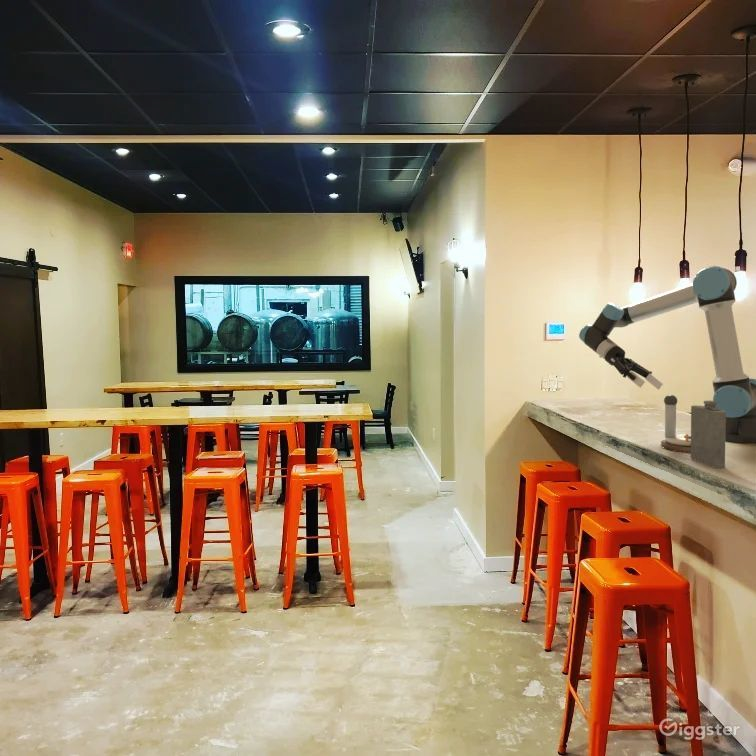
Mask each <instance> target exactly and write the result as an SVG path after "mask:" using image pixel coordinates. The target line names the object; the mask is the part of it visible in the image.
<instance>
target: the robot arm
mask: <svg viewBox="0 0 756 756" xmlns="http://www.w3.org/2000/svg"><path fill="white" fill-rule="evenodd" d="M736 288H737V277H736V275H735V274H734V273H733V271H731V270H730V269H729V268H728V269H727V268H723V267H720V266H716V265H713V266H709V267H705V268H703V269H701V270H699V271H698V272H697V273H696V275H695V276H694V278H693V280H692V283H690V284H687V285H683V286H682V287H678V288H675V289H673V290H670V291H666V292H664V293H661V294H658V295H655V296H652V297H650V298H647V299H643V300H641V301H637V302H635V303H632V304H629V305H625V306H623V307H621V306H619V305H617V304H615V303H613V302H608V303H607V304H606V305H605V306H604V307H603V308H602V311H601V312H600V313H599V315H598V316H597V318H596V319H595V321H594V323H593V324H587V325H585V326H583V328H581V329H580V331H579V333H578V338H579V339H580V340H581V342H582V343H584V344H585V346H587V347H588V348H590V349H591V350H592V351H593V352H595V354H597V355H598V357H599V358H601V359H603V360H604V361H605V362H607V364H608V365H610V366H613V367H614V368H615V369H616V370H617V371H618V373H619V374H620V375H622V377H623V378H628V379H629V380H630V381H632V383H634V384H635V385H636V386H638V387H639V388H642V387H643V386H644V384H645V383H646V382H648V383H650V384H651V385H652V386H653V387H654V388H656V390H660V389H661V388H662V386H663V385H664V383H663V382H662V381H661V380H659V379H658V378H657V377H656V376H654V375H653V371H651V370H648V368H647V369H646V368H645V367H643V366H642V365H640V364H639V363H637V362H635V361H634V360H633V359H631V358H628V357H626V351H625V350H624V349H623V348H622V347H620V346H619V345H618V344H617V343H616V342H614V341H613V340H612V339H610V338H609V335H611V332H612V331H613V330H614V328H625V327H628V326H629V325H632V324H634V323H637V322H640V321H641V322H642V321H643V320H647V319H651V318H653V317H656V316H659V315H663V314H666V313H669V312H672V311H676V310H678V309H682V308H685V307H688V306H691V305H694V304H697V303H698V307H699V309H701V310H702V311H704V314H705V316H704V317H705V320H706V326H707V332H708V337H709V343H710V349H711V355H712V360H713V365H714V370H715V371H714V372H715V378H714V379H713V380H712V381H711V382H712V387H713V397H712V401H716V404H715V405H716V408H718V409H721V410H723V411H726V433H725V442H734V443H750V444H751V443H752V444H753V443H756V378H750V376H749V375H748V374H745V373H744V370H743V363H742V357H741V353H740V346H739V342H738V335H737V329H736V324H735V318H734V312H733V305H734V304H735V302H736V296H735V290H736ZM641 377H643V378H644V379H645V380H646V381H645V380H644V379H643V378H641Z"/></svg>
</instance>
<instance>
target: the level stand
mask: <svg viewBox="0 0 756 756" xmlns="http://www.w3.org/2000/svg"><path fill="white" fill-rule="evenodd" d="M661 446H662V447H664V448H667V449H666V450H668V449H671V450H670V451H672V450H676V451H675V452H679V451H683V452H682V453H691V446H683V445H675V444H670V443H667V442H666V441H665V439H663V440H662V441H660V447H661ZM662 447H661V448H662ZM664 448H663V449H664Z"/></svg>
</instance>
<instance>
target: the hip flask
mask: <svg viewBox="0 0 756 756" xmlns="http://www.w3.org/2000/svg"><path fill="white" fill-rule="evenodd" d="M703 404H704V405H697V404H696V405H695V404H693V405H691V408H690V434H691V452H690V459H691V458H692V459H691V460H694V459H696V460H695V461H697V460H699V461H698V462H701V461H702V462H701V463H703V462H704V463H703V464H706V463H707V464H706V465H708V464H709V466H710V467H712V466H713V467H712V468H714V469H726V441H725V433H726V411H723V410H721V409H718V408H716V405H715V404H716V401H713V400H704V401H703Z"/></svg>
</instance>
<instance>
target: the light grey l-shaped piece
mask: <svg viewBox="0 0 756 756" xmlns="http://www.w3.org/2000/svg"><path fill="white" fill-rule="evenodd" d="M663 402H664V437H665V439H664V440H665V441H666V442H667V443H670V444H675V445H683V446H691V433H690V434H689V433H685V434H684V433H681V434H680V433H679V434H678V433H677V404H678V397H676V395H674V394H667V395H665V397H664V399H663Z"/></svg>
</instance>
